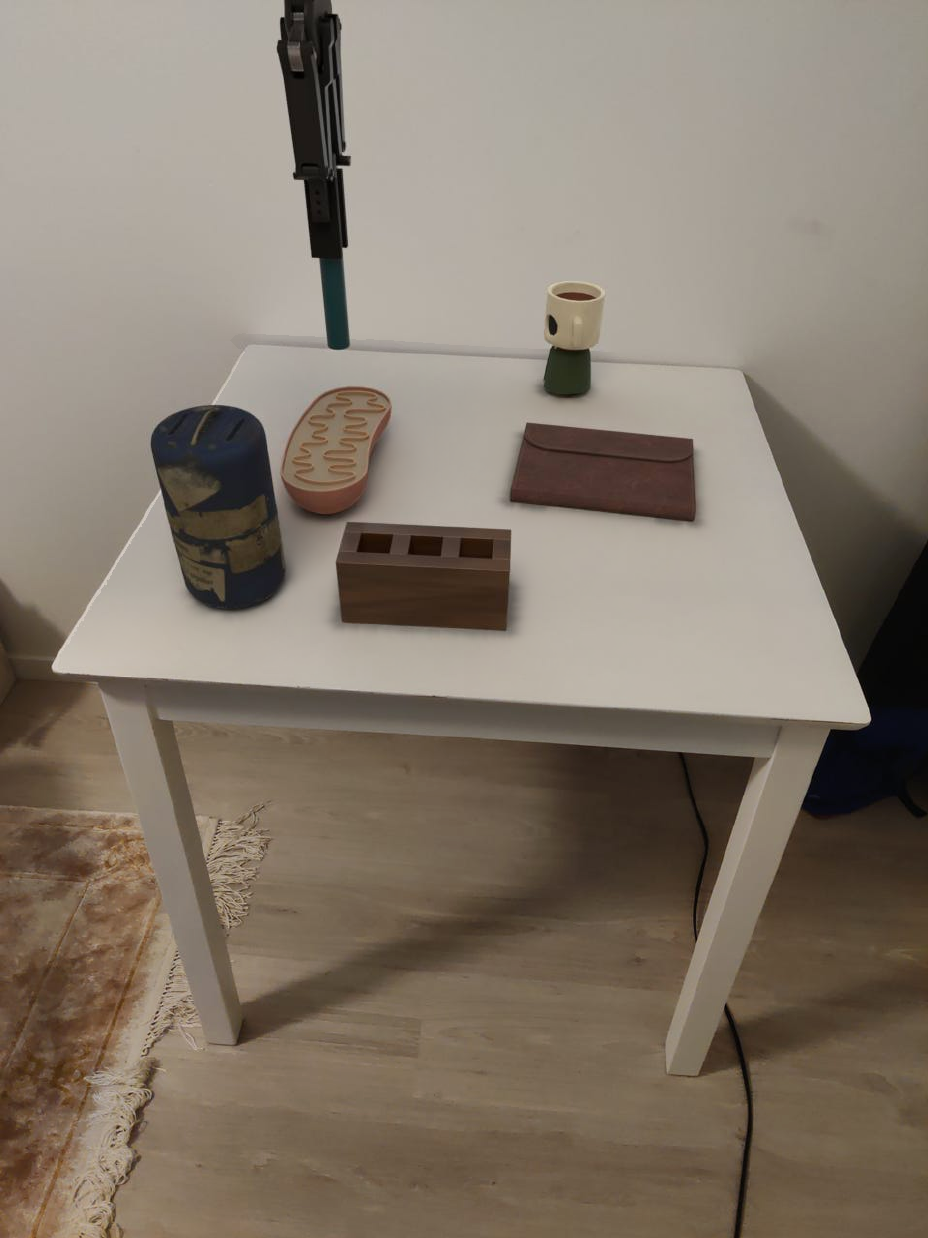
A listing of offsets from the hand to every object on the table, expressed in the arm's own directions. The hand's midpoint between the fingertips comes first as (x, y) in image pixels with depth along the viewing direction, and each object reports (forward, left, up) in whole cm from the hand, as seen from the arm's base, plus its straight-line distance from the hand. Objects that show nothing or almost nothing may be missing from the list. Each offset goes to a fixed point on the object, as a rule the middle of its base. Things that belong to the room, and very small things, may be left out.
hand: (330, 250), depth 78 cm
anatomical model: (0, +4, -26) cm, 26 cm away
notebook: (+25, -13, -26) cm, 39 cm away
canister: (-17, -9, -26) cm, 32 cm away
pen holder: (-4, -21, -26) cm, 34 cm away
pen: (0, 0, -9) cm, 9 cm away
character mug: (+35, +6, -26) cm, 44 cm away
